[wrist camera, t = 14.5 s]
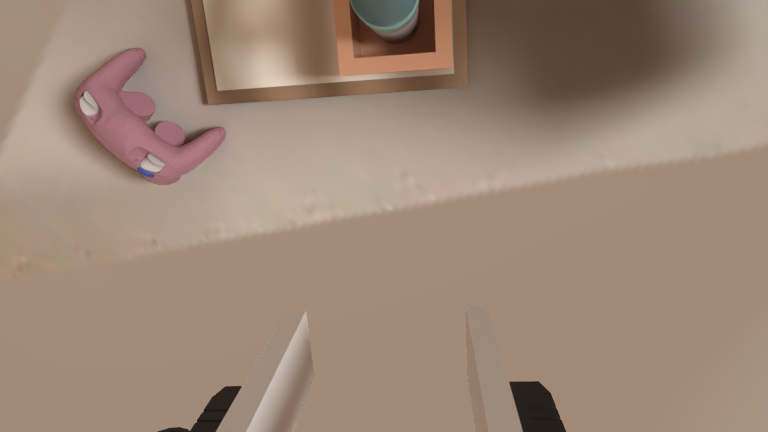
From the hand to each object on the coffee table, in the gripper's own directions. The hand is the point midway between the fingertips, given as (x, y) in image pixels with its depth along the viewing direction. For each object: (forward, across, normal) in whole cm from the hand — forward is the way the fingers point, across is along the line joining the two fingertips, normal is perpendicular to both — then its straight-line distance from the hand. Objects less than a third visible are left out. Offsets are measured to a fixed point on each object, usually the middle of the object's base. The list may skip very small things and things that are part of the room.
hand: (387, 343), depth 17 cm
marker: (+21, 0, +13) cm, 25 cm away
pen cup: (+22, 0, +13) cm, 25 cm away
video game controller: (+23, -19, +7) cm, 31 cm away
